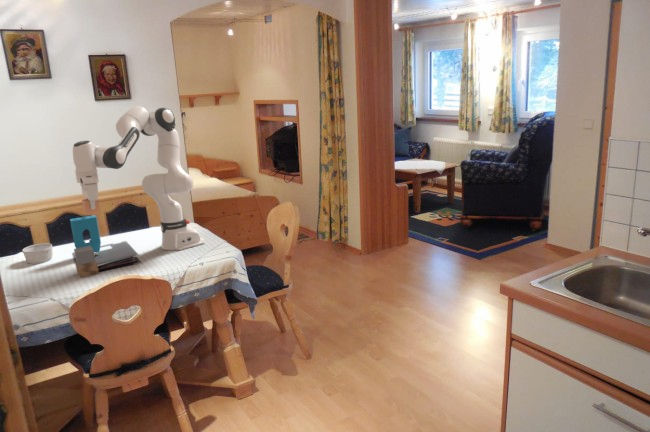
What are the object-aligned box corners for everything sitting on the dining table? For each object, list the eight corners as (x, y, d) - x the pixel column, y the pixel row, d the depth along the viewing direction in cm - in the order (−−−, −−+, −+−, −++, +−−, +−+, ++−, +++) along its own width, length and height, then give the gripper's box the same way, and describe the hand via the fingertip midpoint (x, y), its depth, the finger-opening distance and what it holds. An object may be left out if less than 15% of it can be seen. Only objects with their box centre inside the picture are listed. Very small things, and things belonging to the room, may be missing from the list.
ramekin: (30, 266, 250) (27, 253, 248) (21, 261, 259) (18, 248, 257) (58, 259, 259) (56, 246, 258) (48, 254, 268) (46, 241, 266)
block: (77, 259, 257) (70, 221, 252) (76, 256, 262) (69, 219, 256) (103, 254, 263) (96, 217, 258) (101, 252, 267) (95, 215, 262)
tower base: (95, 269, 243) (93, 257, 241) (99, 273, 236) (96, 261, 235) (77, 273, 239) (75, 260, 237) (80, 278, 232) (77, 265, 231)
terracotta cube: (97, 210, 237) (96, 197, 236) (100, 212, 232) (98, 199, 231) (83, 212, 234) (81, 199, 233) (86, 214, 229) (84, 201, 228)
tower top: (92, 257, 240) (90, 245, 239) (95, 261, 235) (93, 249, 233) (76, 261, 237) (74, 248, 235) (78, 265, 231) (76, 252, 229)
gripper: (76, 176, 237) (80, 205, 240) (83, 181, 220) (87, 212, 223) (90, 174, 240) (95, 203, 243) (98, 179, 223) (103, 210, 226)
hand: (91, 207), depth 233 cm, fingers closed on terracotta cube, 6 cm apart
